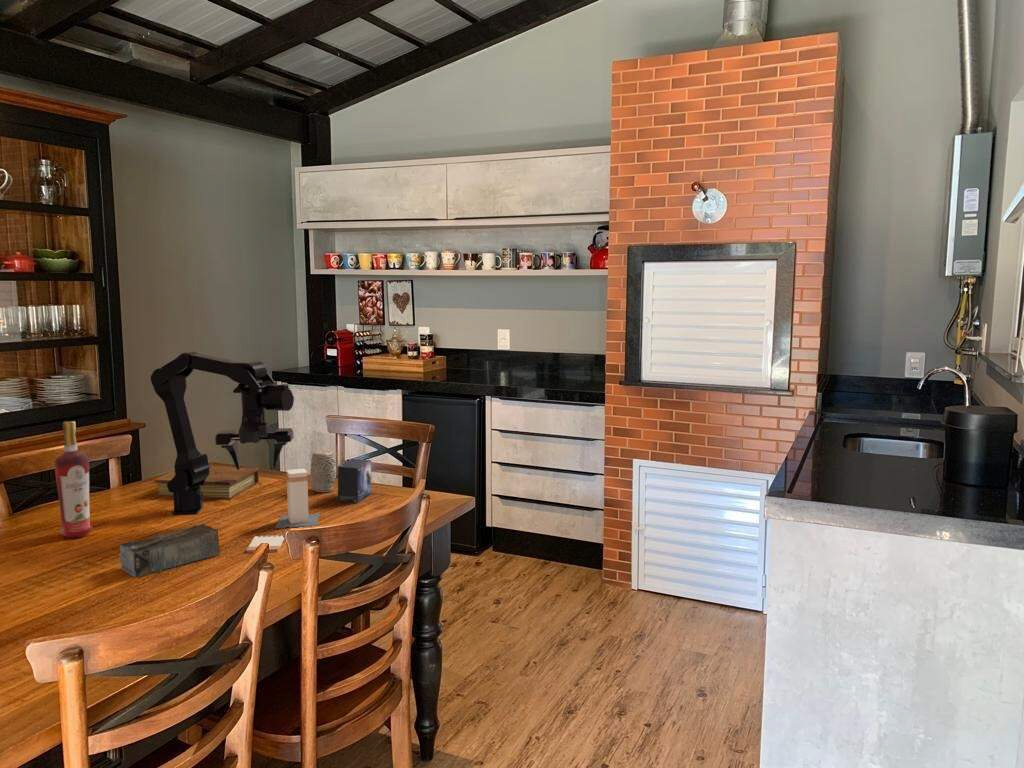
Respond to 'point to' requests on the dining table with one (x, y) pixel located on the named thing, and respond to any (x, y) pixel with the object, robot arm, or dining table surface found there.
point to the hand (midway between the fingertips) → (256, 468)
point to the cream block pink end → (271, 540)
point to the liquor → (73, 486)
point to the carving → (322, 471)
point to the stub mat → (285, 523)
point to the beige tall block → (297, 495)
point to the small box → (354, 480)
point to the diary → (217, 482)
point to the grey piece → (169, 550)
